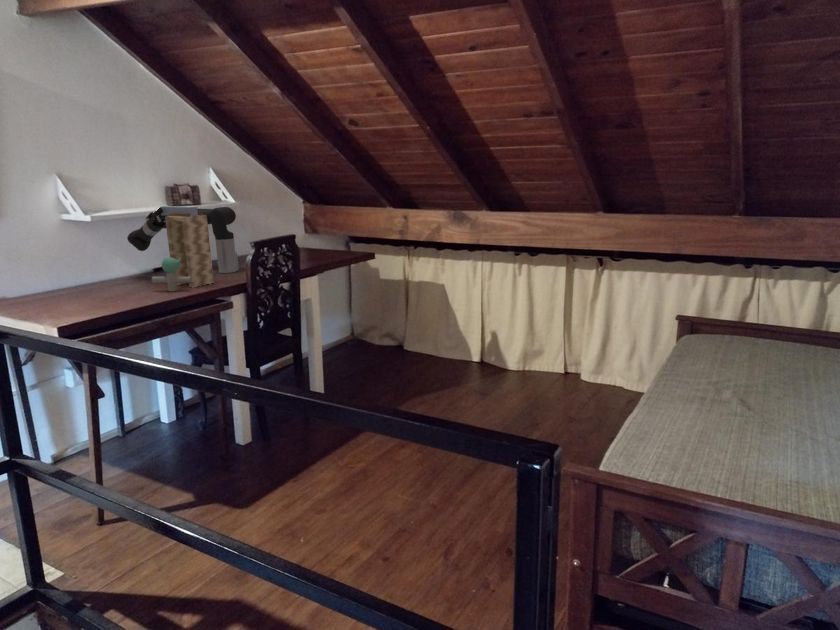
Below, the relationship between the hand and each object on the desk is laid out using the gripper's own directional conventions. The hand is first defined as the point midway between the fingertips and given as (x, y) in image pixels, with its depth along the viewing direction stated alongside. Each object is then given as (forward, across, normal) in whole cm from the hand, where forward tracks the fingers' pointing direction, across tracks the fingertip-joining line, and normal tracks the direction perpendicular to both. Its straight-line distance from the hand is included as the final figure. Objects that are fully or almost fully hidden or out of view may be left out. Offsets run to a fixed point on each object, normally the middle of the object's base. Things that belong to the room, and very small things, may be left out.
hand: (169, 208), depth 291 cm
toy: (-4, +14, -38) cm, 41 cm away
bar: (+4, 0, -6) cm, 7 cm away
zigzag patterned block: (-8, 0, -36) cm, 37 cm away
